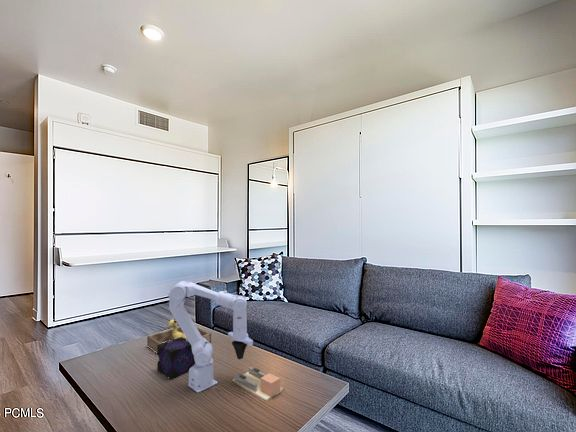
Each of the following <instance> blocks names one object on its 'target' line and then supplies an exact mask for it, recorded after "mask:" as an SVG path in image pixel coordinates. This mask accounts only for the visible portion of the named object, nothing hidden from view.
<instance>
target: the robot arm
mask: <svg viewBox="0 0 576 432" xmlns="http://www.w3.org/2000/svg"><path fill="white" fill-rule="evenodd" d="M193 296H199V297H202V298H205V299H209V300H213V301H214V302H215V304H216V305H218V306H221V307H223V308H224V307H225V308H227V309H231V310H232V311H233V314H232V331H229V332H228V333H227V338H228V339H229V338H231V340H233V341H232V342H231V345H232V346H233V348H234V352H235V355H236V359H238V360H241V359H243V358H244V355H245V352H246V348H247V346H248V347H251V346H253V345H254V340H253V339H252V338H251V337H249V333H248V332H247V331H248V329H247V327H248V326H247V325H248V322H247V321H248V320H247V318H248V316H247V307H248V306H247V305H248V303H247V302H248V301H247V298H246V297H244V296H243V295H238V294H232V293H229V292H228V290H223V291H222V290H220V291H218V292H217V291H215V290H212V289H210V288H207V287H205V286H202V285H199V284H197V283H195V282H191V281H187V280H181V281H178V283H176V284H175V285H173V286H172V287H171V289H170V291H169V294H168V305H169V306H168V309H169V311H170V313H171V314H172V316H173V319H174V318H175V320H176V321H177V326H178V327H180V328H181V330H182V331H183V333H184V334H185V336H186V338H187V339H188V341H189V343H190V344H191V346H192V353H193V355H194V360H195V365H194V366H192V367H191V368H190V369H189V372H188V384H187V387H189V388H190V389H192V390H193V391H195V392H196V393H200V392H203V391H204V390H206V389H209V388H211V387H212V386H215V385H217V384H218V381H217V380H215V379H214V359H213V357H212V354H213V353H214V350H215V349H214V345H213V344H212V342H211V343H209V342H208V341H207V340H206V339H205V338H203V337H202V336H201V334H200V332H199V331H198V329H197V328H198V327H197V326H196V324H195V322H194V321H193V319H192V318H191V316H190V315H189V313H188V311H187V309H186V308H185V306H184V305H185V302H186V298H190V297H193Z"/></svg>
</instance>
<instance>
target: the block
mask: <svg viewBox="0 0 576 432" xmlns="http://www.w3.org/2000/svg"><path fill="white" fill-rule="evenodd" d="M280 386H281V377H278V376H276V375H274V374H273V373H267V374H266V375H265V376H263V377H262V378H261V391H262V392H264V393H266V394H268V395H269V396H271V397H272V396H273V395H275V394H276V393H278V392H280ZM280 393H281V392H280ZM278 394H279V393H278ZM275 396H276V395H275ZM272 398H273V397H272Z"/></svg>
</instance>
